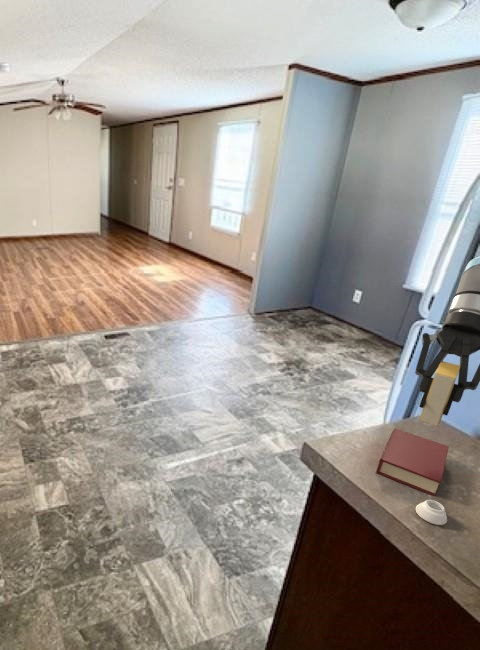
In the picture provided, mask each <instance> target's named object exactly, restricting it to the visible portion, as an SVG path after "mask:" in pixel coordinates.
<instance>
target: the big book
mask: <svg viewBox="0 0 480 650" xmlns="http://www.w3.org/2000/svg"><path fill="white" fill-rule="evenodd" d="M391 431H392V432H391V433H390V435H389V437H388V440H387V443H386V445H385V447H384V449H383V451H382V454H381V456H380V459H379V461H378V464H377V468H376V471H375V474H378V475H380V476H383V477H385V478H387V479H390V480H393V481H395V482H398V483H400V484H403V485H405V486H408V487H410V488H413V489H415V490H417V491H421V492H422V493H426V494H427V495H431V496H432V497H436V496H437V492H438V488H439V484H442V480H443V476H444V471H445V466H446V462H447V458H448V453H449V448H450V446H449V445H446V444H443V443H440V442H437V441H434V440H432V439H428V438H426V437H422V436H420V435H416V434H413V433H410V432H407V431H405V430H402V429H399V428H395V427H393V429H392V430H391Z"/></svg>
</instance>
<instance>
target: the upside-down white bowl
mask: <svg viewBox="0 0 480 650" xmlns="http://www.w3.org/2000/svg"><path fill="white" fill-rule="evenodd" d="M415 512H416V514H417V515H418V516H419V517H420V518H421V519H423V520H424V521H426V522H428V523H429V524H432V525H436V526H443V525H446V524H447V522H448V517H447V513H446V509H445V506H444V505H443V504H441V503H440V502H439V501H437V500H434V499H426V500H425V501H422V502H420V503H419V504H417V505H416V507H415Z"/></svg>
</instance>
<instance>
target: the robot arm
mask: <svg viewBox="0 0 480 650" xmlns="http://www.w3.org/2000/svg"><path fill="white" fill-rule="evenodd" d="M435 341H436V342H437V343H438V345H439V347H440V350H439V351H438V353H437V354H436V356H435V357H434V359H433V360H432V362H431V363H430V365H429V366H428V368H427V369H424V367H425V364H426V360H427V357H428V353H429V351H430V346H431V345H433V344H434V342H435ZM421 344H422V347H421V350H420V353H419V357H418V360H417V364H416V366H415V372H414V373H415V375H416V376H419V377H421V378H422V379H421V382H420V384H419V388H418V391H419V392H420V393H423V394H422V397H421V400H420V402H419V408H420V409H423V407H424V404H425V402H426V399H427V396H428V393H429V390H430V387H431V384H432V381H433V379H434V375H435V373H436V371H437V369H438V366H439V364H440V362H441V361H445V359H446V358H447V356H448V355H454V356H456V357H459V365H460V366H461V367H460V370H459V372H458V376H457V377H458V379H457V383H454V386H453V389H452V391H451V394H450V397H449V399H448V402H447V405H446V407H445V410H444V413H443V415H442V416H448V415H449V413H450V409H451V407H452V404H453V402H454V403H460V402H461V400H462V398H463V395H464V392H465V391H466V390H471V391H475V390H477V389H478V386H479V384H480V363H479V364H478V366H477V369H476V370H475V373H474V375H473V377H472V379H471V381H468V373H469V363H470V362H469V361H470V356H472V354H475V353H477V352H478V351H480V256H477V257H475V258H473V259H470V260H469V261H468V263H467V264H466V266H465V268H464V270H463V272H462V273H461V275H460V280H459V283H458V286H457V289H456V292H455V295H454V296H453V298H452V301H451V303H450V305H449V309H448V311H447V315H446V316H445V318H444V321H443V324H442V326H441V329H440V330H439V331H438V332H436V333H435V334H429V333H428V332H424V333H423V334H422V336H421Z"/></svg>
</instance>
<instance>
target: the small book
mask: <svg viewBox="0 0 480 650" xmlns="http://www.w3.org/2000/svg"><path fill="white" fill-rule="evenodd" d="M460 367H461V366H460V364H455V363H452V362H447V361H445V360H443V361H441V362H440V364H439V366H438V368H437V370H436V371H435V373H434V375H433V378H434V379H433V381H432V384H431V387H430V390H429V393H428V396H427V399H426V402H425V404H424V407H423V408H422V410H421V413H420V416H419V419H418V421H419V422H423V423H426V424H429V425H432V426H434V427H440V424H441V421H442V418H443V416H444V415H443V413H444V410H445V407H446V405H447V402H448V399H449V397H450V394H451V391H452V389H453V386H454V384H456V381H457V377H458V376H459V370H460Z"/></svg>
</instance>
